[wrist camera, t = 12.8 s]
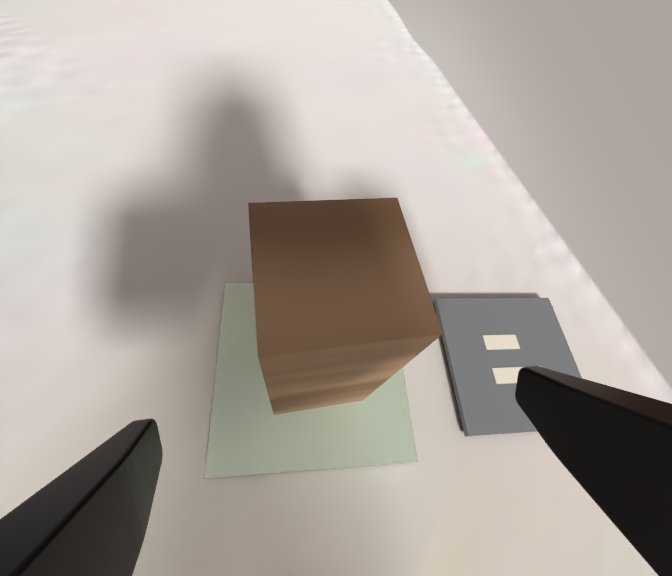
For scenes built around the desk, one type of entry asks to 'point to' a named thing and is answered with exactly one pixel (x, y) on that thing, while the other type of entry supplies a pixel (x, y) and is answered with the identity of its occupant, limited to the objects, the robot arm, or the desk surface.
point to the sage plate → (293, 413)
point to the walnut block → (335, 299)
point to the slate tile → (498, 356)
